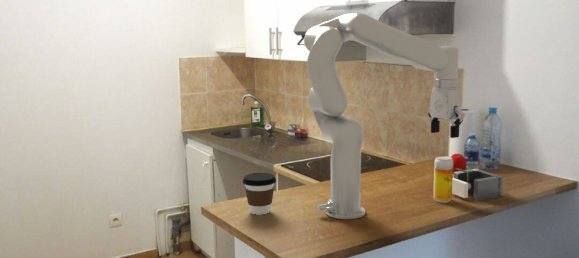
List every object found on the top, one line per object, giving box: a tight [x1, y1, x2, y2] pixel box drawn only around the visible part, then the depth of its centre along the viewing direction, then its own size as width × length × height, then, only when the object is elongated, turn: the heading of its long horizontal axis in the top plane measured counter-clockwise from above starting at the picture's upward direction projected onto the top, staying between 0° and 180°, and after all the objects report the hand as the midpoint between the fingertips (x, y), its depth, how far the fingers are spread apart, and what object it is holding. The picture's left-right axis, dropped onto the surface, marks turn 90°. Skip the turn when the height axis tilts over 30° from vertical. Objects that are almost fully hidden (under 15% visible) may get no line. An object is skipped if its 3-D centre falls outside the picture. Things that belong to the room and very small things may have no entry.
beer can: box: [433, 155, 453, 204], centre depth 189 cm, size 6×6×15 cm
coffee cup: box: [242, 172, 277, 216], centre depth 181 cm, size 11×11×12 cm
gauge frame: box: [454, 168, 504, 202], centre depth 196 cm, size 11×12×7 cm
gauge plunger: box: [452, 168, 471, 199], centre depth 194 cm, size 5×10×8 cm, turn 25°
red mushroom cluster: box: [450, 153, 467, 178], centre depth 213 cm, size 9×7×10 cm
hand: (444, 134), depth 186 cm, fingers open, 9 cm apart
